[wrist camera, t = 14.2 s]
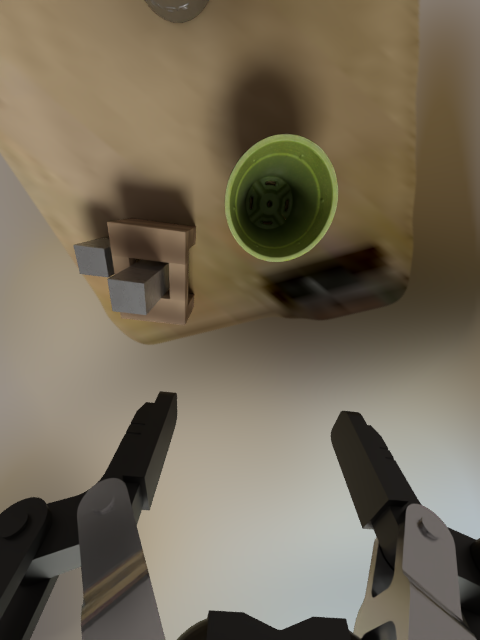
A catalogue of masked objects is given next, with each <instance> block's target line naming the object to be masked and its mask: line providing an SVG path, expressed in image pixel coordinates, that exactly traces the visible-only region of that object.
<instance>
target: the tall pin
mask: <svg viewBox="0 0 480 640" xmlns="http://www.w3.org/2000/svg"><path fill="white" fill-rule="evenodd" d="M108 285H109V292H110V298H111V304H112V310H113V311H116V312H124V313H132V314H141V315H147V314H148V313H149V312H150V310H151V309H152V308H153V307H154V306H155V305H156V303H157V302H158V301H159V300H160V299H161V298H162V297H163V295H164V294H165V293H166V292H167V291H168V290H169V288H170V282H169V263H167V262H159V261H151V260H143V259H142V260H140V261H138V262H137V263H135V264H133V265H131V266H129V267H128V268H126V269H124V270H122V271H121V272H119V273H117V274H115V275H114V276H112V277H110V278H108Z"/></svg>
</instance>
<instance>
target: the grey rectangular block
mask: <svg viewBox="0 0 480 640" xmlns="http://www.w3.org/2000/svg"><path fill="white" fill-rule="evenodd" d="M74 249H75V254H76V258H77V263H78V267H79V272H80V274H85V275H93V276H102V277H110V276H112V275H114V274H115V273H114V266H113V259H112V253H111V246H110V239H109V238H99V239H95V240H91V241H87V242H83V243H79V244H75V245H74Z"/></svg>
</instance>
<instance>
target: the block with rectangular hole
mask: <svg viewBox="0 0 480 640" xmlns="http://www.w3.org/2000/svg"><path fill="white" fill-rule="evenodd" d="M107 226H108V233H109V239H110V246H111V253H112V259H113V266H114V273H115V274H117V273H119V272H121V271H122V270H124V269H126V268H128V267H129V266H131V265H133V264H135V263H136V260H135V258H136V259H143V260H151V261H159V262H167V263H169V282H170V292H169V291H167V292H166V293H165V294H164V295H163V297H162V298H161V299H160V300H159V301H158V302H157V303H156V305H155V306H154V307H153V308H152V309H151V310H150V312H149V313H148V314H147V315H141V314H132V313H124V312H120V313H121V318H125V319H134V320H143V321H151V322H160V323H169V324H178V325H185V324H186V322H187V320H188V318H189V316H190V314H191V312H192V310H193V307H194V294H188V258H189V248H190V247H192V246H193V245H194V244H195V241H196V227H193V226H186V225H179V224H171V223H164V222H156V221H149V220H141V219H134V218H130V219H123V220H116V221H109V222H107Z"/></svg>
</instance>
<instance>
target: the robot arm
mask: <svg viewBox="0 0 480 640" xmlns="http://www.w3.org/2000/svg"><path fill="white" fill-rule="evenodd" d="M145 1H146V3H147V4H148V6H149V7H150V8H151V9H152V10H153V11H154V12H155V13H156V14H157V15H159V16H160V17H162V18H164V19H165V20H168V21H171V22H178V23H183V22H186V21H189V20H191V19H193V18H194V17H196V16H197V15H199V13H200V12H201V11H202V10H203V9H204V7H205V6H206V4H207V2H208V1H209V0H145ZM176 420H177V394H176V393H171V392H160V393H159V394H158V397H157V399H156V401H155V403H148V402H146V403H145V404H144V405H143V406H142V407H141V408H140V409H139V410H138V411H137V412H136V414H135V416H134V418H133V420H132V422H131V425H130V426H129V427H128V429H127V431H126V434H125V436H124V437H123V439H122V441H121V443H120V445H119V447H118V449H117V451H116V453H115V455H114V457H113V459H112V461H111V463H110V465H109V467H108V469H107V470H106V472H105V474H104V475H103V477H102V478H101V480H100V481H98V483H96V484H95V485H94V486H93V487H92V488H90V489H89V490H87V491H86V492H84V493H82V494H80V495H77V496H74V497H70V498H67V499H63V500H60V501H56V502H52V503H48V504H46V503H45V501H44V500H42V499H41V498H35V497H33V498H27V499H24V500H21V501H19V502H17V503H15V504H13V505H12V506H10V507H9V508H7V509H6V510H4V511H3V512H2V513H1V514H0V640H30V638H31V636H32V634H33V631H34V629H35V627H36V625H37V623H38V620H39V618H40V616H41V614H42V612H43V609H44V607H45V605H46V603H47V601H48V598H49V596H50V594H51V592H52V589H53V587H54V585H55V582H56V580H57V578H58V576H59V575H60V574H62V573H65V572H67V571H70V570H73V569H76V568H79V567H81V570H82V582H83V594H84V595H83V596H84V597H83V599H84V600H83V606H82V610H81V629H82V640H165V636H164V632H163V628H162V625H161V621H160V616H159V613H158V608H157V604H156V600H155V597H154V593H153V589H152V585H151V581H150V577H149V573H148V569H147V565H146V561H145V557H144V554H143V550H142V546H141V542H140V538H139V534H138V530H137V526H136V525H137V522H138V519H139V516H140V513H141V510H150V507H151V504H152V501H153V497H154V494H155V491H156V487H157V484H158V481H159V478H160V474H161V471H162V468H163V464H164V461H165V458H166V455H167V451H168V448H169V445H170V442H171V439H172V435H173V432H174V429H175V425H176ZM331 441H332V444H333V448H334V450H335V453H336V456H337V459H338V462H339V464H340V467H341V470H342V473H343V475H344V478H345V481H346V484H347V487H348V489H349V492H350V495H351V498H352V500H353V503H354V506H355V509H356V511H357V514H358V517H359V520H360V522H361V525H362V528H363V529H374V531H375V534H376V536H377V537H376V539H375V541H374V546H373V553H372V559H371V565H370V571H369V577H368V583H367V589H366V595H365V598H364V601H363V603H362V605H361V607H360V609H359V612H358V615H357V618H356V622H355V626H354V632H353V633H352V632H351V631H349V629H348V625H347V621H346V619H342V618H325V617H311V618H309V619H307V620H304V621H302V622H300V623H297V624H295V625H292V626H290V627H288V628H285V629H283V630H277V629H275V628H273V627H271V626H269V625H267V624H265V623H263V622H261V621H259V620H257V619H255V618H253V617H251V616H249V615H247V614H245V613H242V612H226V611H209V613H208V617H207V619H205V620H202V621H200V622H198V623H196V624H195V625H193V626H191V627H190V628H189V629H188V630H186V631H185V632H184V633H183V634H182V635H181V636H180V637H179V638H178V639H177V640H480V538H479V539H478V540H475V539H473V538H471V537H468V536H466V535H464V534H461V533H459V532H457V531H454V530H452V529H450V528H448V527H447V526H446V525H445V524H444V522H443V521H442V520H441V519H440V518H439V517H438V516H437V515H436V514H435V513H434V512H432V511H431V510H430V509H428V508H426V507H424V506H422V505H421V503H420V502H419V500H418V499H417V497H416V495H415V494H414V492H413V491H412V489H411V487H410V485H409V484H408V482H407V480H406V478H405V477H404V475H403V473H402V471H401V470H400V468H399V466H398V465H397V463H396V461H395V460H394V458H393V456H392V454H391V452H390V451H389V450H388V447H387V446H386V444H385V442H384V440H383V439H382V437H381V436H380V435H379V434H378V432H376V430H375V429H374V428H373V427H372V426H371V425H367V424H366V422H365V420H364V418H363V417H362V415H361V414H360V413H358V412H350V411H342V412H341V413H340V415H339V416H338V419H337V420H336V423H335V424H334V426H333V428H332V431H331Z"/></svg>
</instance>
